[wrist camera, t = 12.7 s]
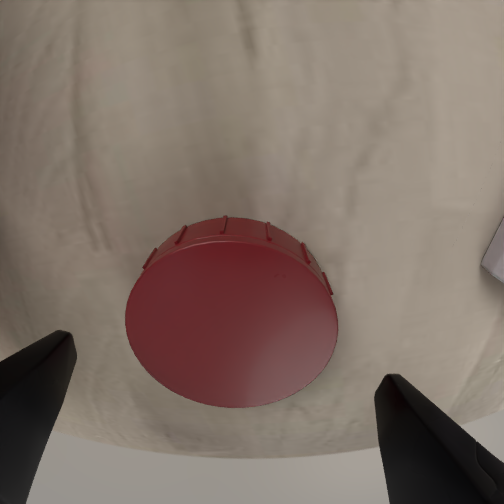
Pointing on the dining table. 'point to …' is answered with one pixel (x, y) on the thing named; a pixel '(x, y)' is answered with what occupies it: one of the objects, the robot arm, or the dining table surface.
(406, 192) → the dining table surface
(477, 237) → the dining table surface
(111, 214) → the dining table surface
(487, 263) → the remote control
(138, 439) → the dining table surface
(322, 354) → the lid
